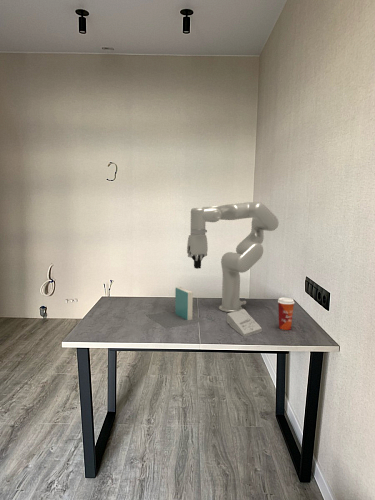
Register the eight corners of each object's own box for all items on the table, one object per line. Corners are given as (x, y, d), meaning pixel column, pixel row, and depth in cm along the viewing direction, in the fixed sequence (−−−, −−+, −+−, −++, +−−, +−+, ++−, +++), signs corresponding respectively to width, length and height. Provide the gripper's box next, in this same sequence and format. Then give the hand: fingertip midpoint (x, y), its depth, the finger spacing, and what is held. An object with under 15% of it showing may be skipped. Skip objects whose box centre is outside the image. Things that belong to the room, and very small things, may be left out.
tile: (180, 313, 198) (180, 287, 196) (192, 319, 188) (192, 292, 186) (175, 313, 196) (175, 287, 194) (187, 320, 186) (187, 292, 184)
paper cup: (284, 331, 173) (285, 302, 171) (273, 326, 179) (274, 298, 178) (297, 329, 176) (298, 300, 174) (285, 324, 183) (287, 296, 181)
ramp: (263, 338, 165) (264, 326, 164) (227, 337, 166) (227, 325, 166) (257, 318, 193) (257, 308, 192) (226, 317, 194) (226, 307, 193)
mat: (182, 310, 204) (182, 309, 204) (205, 321, 186) (205, 320, 186) (146, 316, 193) (146, 315, 193) (165, 329, 174) (165, 328, 174)
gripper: (206, 231, 197) (205, 265, 200) (181, 232, 189) (181, 268, 192) (214, 232, 191) (213, 268, 193) (188, 233, 183) (188, 270, 186)
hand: (197, 268), depth 193 cm, fingers closed
